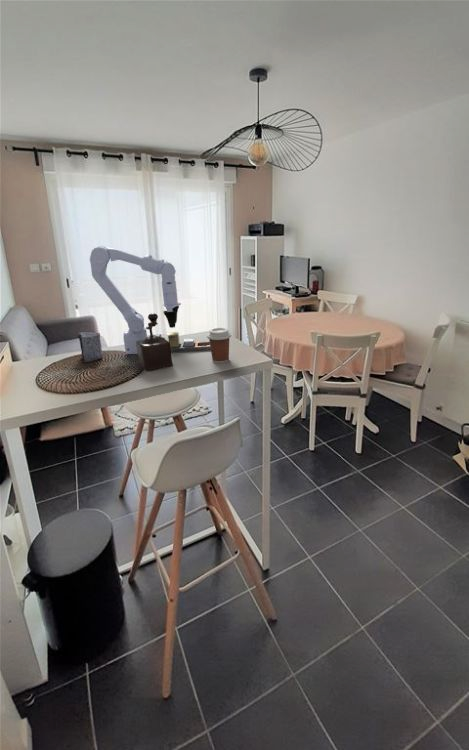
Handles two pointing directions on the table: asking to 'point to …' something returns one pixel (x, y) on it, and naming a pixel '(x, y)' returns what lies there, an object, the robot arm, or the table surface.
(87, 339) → the stone
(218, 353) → the coffee cup
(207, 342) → the rail
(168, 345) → the manual coffee grinder
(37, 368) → the table surface
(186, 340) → the zinc nut
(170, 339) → the yellow block
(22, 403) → the table surface
